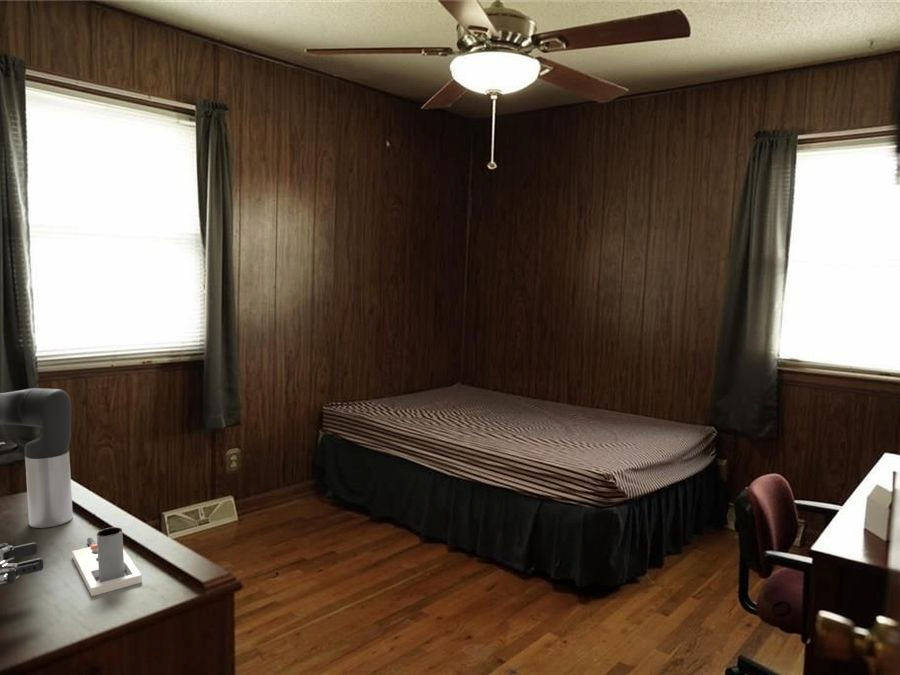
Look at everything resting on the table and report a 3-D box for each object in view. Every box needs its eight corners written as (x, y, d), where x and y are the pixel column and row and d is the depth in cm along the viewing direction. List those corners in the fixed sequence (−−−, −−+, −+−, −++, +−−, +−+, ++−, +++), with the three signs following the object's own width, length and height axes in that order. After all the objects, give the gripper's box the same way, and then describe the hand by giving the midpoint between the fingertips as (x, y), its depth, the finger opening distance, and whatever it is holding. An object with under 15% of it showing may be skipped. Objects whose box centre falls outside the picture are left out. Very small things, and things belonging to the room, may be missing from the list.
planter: (129, 577, 132) (127, 528, 131) (111, 587, 128) (109, 537, 127) (112, 573, 134) (110, 525, 133) (94, 583, 129) (91, 534, 128)
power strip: (67, 547, 145) (66, 538, 145) (111, 537, 151) (111, 528, 151) (91, 596, 124) (91, 585, 124) (141, 582, 130) (141, 572, 130)
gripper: (-72, 574, 106) (44, 549, 116) (-72, 545, 117) (34, 524, 127) (-69, 618, 107) (46, 588, 117) (-69, 585, 118) (36, 561, 128)
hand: (39, 555), depth 122 cm, fingers open, 8 cm apart
